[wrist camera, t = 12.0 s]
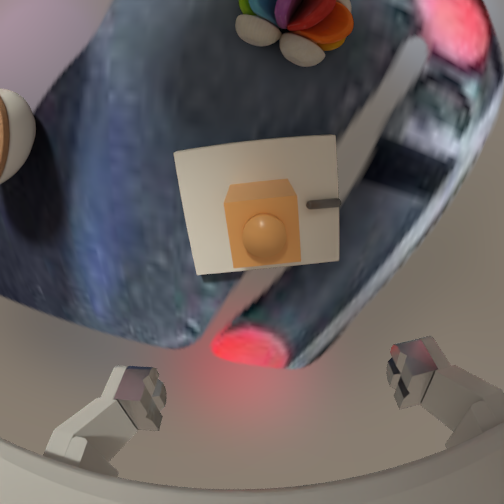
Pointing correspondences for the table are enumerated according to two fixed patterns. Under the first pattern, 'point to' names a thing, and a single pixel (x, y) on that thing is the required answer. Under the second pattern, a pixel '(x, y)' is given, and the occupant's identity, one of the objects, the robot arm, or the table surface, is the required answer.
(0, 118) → the lidded jar
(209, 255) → the plate
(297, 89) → the table surface
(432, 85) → the table surface
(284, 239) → the orange cube with dome
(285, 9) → the rainbow segmented toy
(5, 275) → the table surface
